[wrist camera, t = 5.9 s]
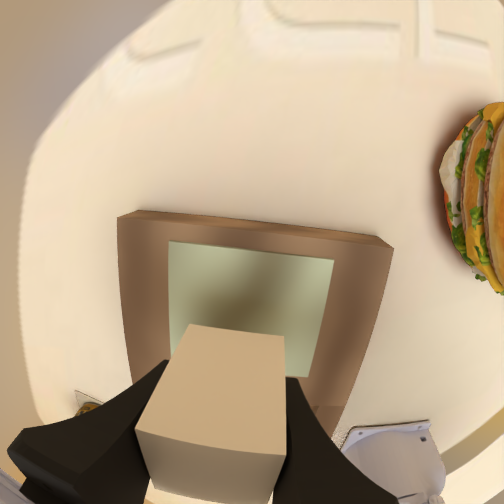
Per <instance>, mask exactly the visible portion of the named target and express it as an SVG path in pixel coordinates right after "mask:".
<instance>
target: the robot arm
mask: <svg viewBox="0 0 504 504" xmlns="http://www.w3.org/2000/svg"><path fill="white" fill-rule="evenodd" d="M169 361H170V360H166V359H164V360H163V361H161V362H160V363H159V364H158V365H157V366H156V367H154V368H153V369H152V370H151V371H150V372H148V373H147V374H146V375H145V376H143V377H142V378H141V379H140V380H138V381H137V382H136V383H134V384H133V385H132V386H130V387H129V388H128V389H126V390H125V391H123V392H122V393H120V394H119V395H117V396H116V397H114V398H113V399H111V400H109V401H108V402H106V403H104V404H102V405H100V406H98V407H96V408H94V409H92V410H90V411H88V412H85V413H83V414H80V415H78V416H75V417H73V418H70V419H67V420H64V421H60V422H56V423H53V424H48V425H43V426H37V427H31V428H24V429H23V430H22V431H21V432H20V434H19V435H18V436H17V437H16V438H15V440H14V441H13V442H12V444H11V445H10V446H9V447H8V449H7V452H8V455H9V457H10V458H11V460H12V461H13V462H14V464H15V465H16V466H17V467H18V468H19V470H20V471H21V472H22V473H23V474H24V475H25V477H26V480H25V482H24V483H23V485H22V484H21V483H19V482H18V481H16V480H15V479H14V478H12V477H11V476H10V475H8V474H7V473H6V472H4V471H3V470H2V469H1V468H0V504H143V503H144V499H145V495H146V491H147V488H148V484H149V480H150V475H149V472H148V469H147V466H146V463H145V460H144V457H143V454H142V451H141V448H140V445H139V442H138V439H137V435H136V432H135V427H136V425H137V423H138V421H139V419H140V417H141V415H142V413H143V411H144V409H145V407H146V405H147V403H148V401H149V399H150V397H151V395H152V394H153V392H154V390H155V388H156V386H157V384H158V382H159V380H160V378H161V376H162V374H163V372H164V371H165V369H166V367H167V365H168V363H169ZM285 386H286V457H285V460H284V463H283V465H282V468H281V471H280V473H279V476H278V479H277V481H276V484H275V486H274V489H273V501H272V504H445V502H444V500H443V498H442V497H441V496H439V495H440V494H441V492H442V490H443V488H444V485H445V478H446V473H445V467H444V464H443V462H442V459H441V457H440V454H439V452H438V450H437V447H436V445H435V443H434V441H433V438H432V436H431V434H430V432H429V430H428V429H429V427H430V426H431V422H430V421H424V422H417V423H410V424H401V425H391V426H379V427H363V428H354V429H352V430H351V431H350V433H349V435H348V437H347V439H346V441H345V443H344V444H343V446H342V448H341V450H339V449H338V447H337V446H336V445H335V444H334V443H333V441H332V440H331V439H330V437H329V436H328V434H327V433H326V432H325V430H324V429H323V427H322V426H321V424H320V422H319V421H318V419H317V418H316V416H315V414H314V412H313V410H312V409H311V407H310V405H309V403H308V401H307V399H306V397H305V395H304V393H303V390H302V388H301V386H300V383H299V380H298V379H297V378H292V377H285Z"/></svg>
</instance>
